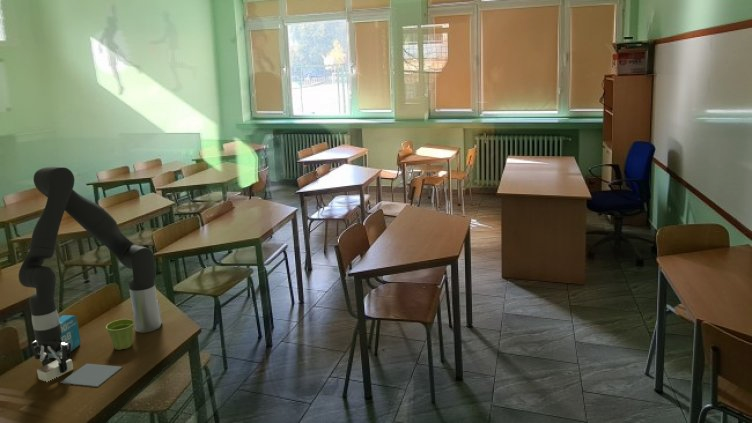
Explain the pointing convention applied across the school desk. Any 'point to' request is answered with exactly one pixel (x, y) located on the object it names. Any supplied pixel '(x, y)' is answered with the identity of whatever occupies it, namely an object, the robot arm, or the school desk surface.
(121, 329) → the plant pot
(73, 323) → the data package
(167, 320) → the school desk surface
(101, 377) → the mat
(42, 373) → the white rectangular block
